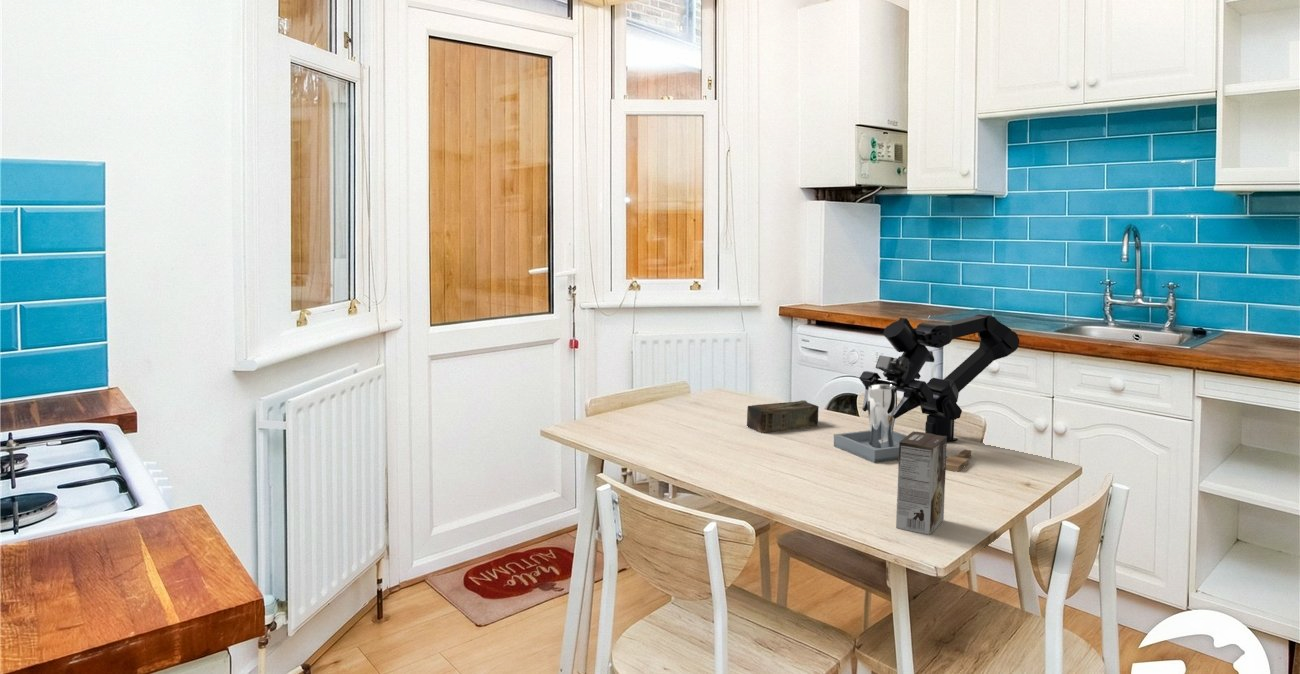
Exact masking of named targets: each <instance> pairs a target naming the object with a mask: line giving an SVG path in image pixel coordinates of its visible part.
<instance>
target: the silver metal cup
mask: <svg viewBox="0 0 1300 674" xmlns="http://www.w3.org/2000/svg"><path fill="white" fill-rule="evenodd" d="M897 406H898V391H897V387H896V386H894V385H889V384H873V385H869V389H868V400H867V408H868V410H867V415H868V423H869V430H870V439H869V444H868V446H870V447H872V448H875V449H879V448H887V447H894V441H893V431H894V427H895V422H896V419H895V418H894V417H893V414H894V411H895V409H896V408H897Z"/></svg>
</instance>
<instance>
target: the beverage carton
mask: <svg viewBox="0 0 1300 674" xmlns="http://www.w3.org/2000/svg"><path fill="white" fill-rule="evenodd" d="M818 425H819V406H818V405H817V404H814V403H810V402H807V400H803V399H802V400H797V401H787V402H775V403H764V404H761V403H760V404H752V405H747V411H746V427H747V426H748V428H749V427H750V428H749V429H751V428H752V430H753V429H754V431H755V430H756V432H758V433H760V432H761V433H760V434H762V432H763V433H771V432H770V431H772V432H777V431H778V430H780V431H787V429H789V430H795V429H794V428H797V429H802V428H803V427H805V428H812V427H818ZM811 426H812V427H811ZM803 429H804V428H803ZM778 432H779V431H778Z"/></svg>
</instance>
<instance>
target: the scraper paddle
mask: <svg viewBox="0 0 1300 674" xmlns="http://www.w3.org/2000/svg"><path fill="white" fill-rule="evenodd" d="M970 456H971V457H972V450H971V449H966V448H965V449H963V450H961V451H960V452H959V453H957V454H956V456H954V455H950V456H949V457H946V471H950V470H951V472H956V471H957V472H958V471H959V472H960V471H962V470H963V469H964V468H965V467H967V466H968V465H969V464H968V463H970V458H969V457H970ZM968 458H969V459H968ZM967 464H968V465H967ZM964 466H965V467H964ZM963 467H964V468H963ZM957 472H956V473H957ZM959 472H958V473H959Z"/></svg>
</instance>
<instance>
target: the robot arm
mask: <svg viewBox="0 0 1300 674" xmlns="http://www.w3.org/2000/svg"><path fill="white" fill-rule="evenodd" d="M973 334H977V337H978V338H979V339H980V340H979V347H978V348H977V349H976V350H975V351H974V352H972V353H971V354H970V355H969V356H968V357H967V358H966V359H965V360H964V361H962V363H960V364H959V365H958V366H957V367H956V368H954V369H953V370H952V371H951V372H950V373H948V375H947V376H946V377H945V378H942V379H941V378H938V377H932V378H930V379H929V381H927V382H926V381H924V380H920V379H921V376H922V375H920V372H921V370H922V368H923V366H924V365H925V364H926V363H934V362H935V357H934V355H933V351H931V350H929V349H928V348H927V347H929V348H935V349H941V348H944V347H945V346H947V345H948V344H949V345H950V343H952V341H953V340H954V339H958V338H962V337H966V336H970V335H973ZM883 336H884V337H885V339H886V340H887V341H888V342H889V344H890V345H891V346H892V347H893V348H894V349H895V351H896V352H898V353H902V354H901V355H900V356H898V357H897V358H896V357H893V356H886V355H881V354H880V355H879V356H878V358H877V361H876V365H875V369H877V370H880V371H882V375H883V376H884V377H885V378H886V379H884V378H881V376H880V375H879V373H878V372H875V371H874V372H873V371H867V370H866V371H862V373H861V374H860V376H859V378H858V379H859V380H860V382H861V383H862V384H863V386H864V387H865V392H864V398H863V403H862V408H861V409H862V411H863V412H868V408H867V400H868V389H869V385H873V384H889V385H894V386H896V387H897V392H902V393H903V396H902V398H901V400H900V401H899V403H897V408H896V409H895V411H894V414H893V417H894V418H895V420H896V419H898V418H900V417H901V416H903V415H905V414H906V413H908V412H910V411H912V410H914V409H915V408H918V407H920V409H921V413H922V414H923V415H926V421H925V429H924V430H925V431H924V433H930V434H935V435H940V436H947V443H949V442H956V441H957V440H958V441H959V438H957V437H955V436H954V432H955V420H958V419H960V418H961V416H962V413H963V410H962V408H961V407H960V406H959V405H958V404H957V402H958V401H959V395H960V394H959V393H960V392H961V391H962V390H963V389H965V388H966V386H967V385H969V384H970V383H972V381H973V380H974V379H975V378H977V377H978V376H979V375H980V374H981V373H982V372H983V371H985V369H986V368H988V367H989V366H990V365H992V363H993V362H994V361H997V360H999V359H1002V358H1005V357H1008V356H1010V355H1011V354H1013V353H1014V352H1016V351H1017V350H1018V348H1019V345H1020V338H1019V336H1018V334H1017V332H1015V331H1013V330H1012V329H1011V328H1010V327H1008V326H1007V325H1005V324H1004V323H1002V322H1000V321H999V320H998V319H997V318H996V317H995V316H993V315H991V314H983V313H982V314H981V313H977V314H975V315H974V316H970V317H965V318H961V319H960V318H959V319H957V320H953V321H948V322H945V323H942V322H939V323H938V322H920V323H919V324H918V325H916V327H913V326H912V325H911V323H910V321H909V320H908V318H906V317H900V318H899V319H898V320H896V321H893V322H891V323H890V324H889V325H887V326H886V327H885V328H884V330H883Z"/></svg>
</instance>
